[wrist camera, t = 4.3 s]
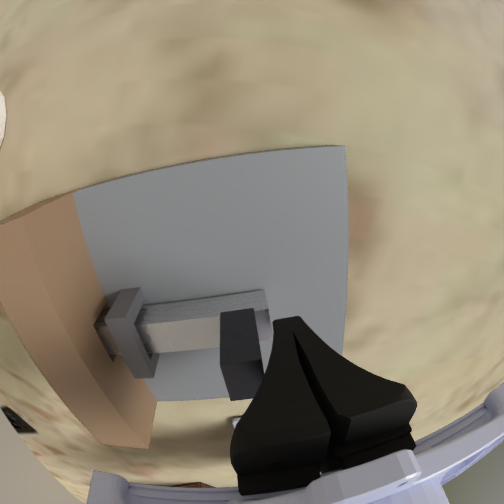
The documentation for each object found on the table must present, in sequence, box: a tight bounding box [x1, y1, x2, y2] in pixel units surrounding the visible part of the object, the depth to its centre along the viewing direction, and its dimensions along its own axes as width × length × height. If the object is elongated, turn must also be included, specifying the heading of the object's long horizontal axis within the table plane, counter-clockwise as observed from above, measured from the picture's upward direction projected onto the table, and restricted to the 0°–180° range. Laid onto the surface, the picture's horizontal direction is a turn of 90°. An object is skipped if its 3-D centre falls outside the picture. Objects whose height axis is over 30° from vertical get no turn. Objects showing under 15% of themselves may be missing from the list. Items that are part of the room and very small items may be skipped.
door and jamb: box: [0, 145, 349, 449], centre depth 14 cm, size 18×16×6 cm
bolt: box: [93, 290, 272, 401], centre depth 13 cm, size 10×2×5 cm, turn 97°
